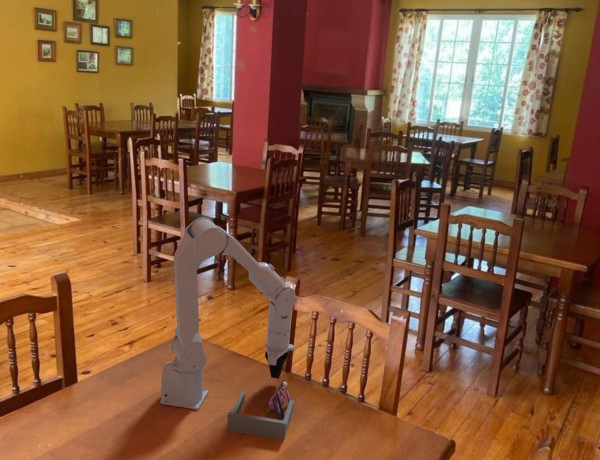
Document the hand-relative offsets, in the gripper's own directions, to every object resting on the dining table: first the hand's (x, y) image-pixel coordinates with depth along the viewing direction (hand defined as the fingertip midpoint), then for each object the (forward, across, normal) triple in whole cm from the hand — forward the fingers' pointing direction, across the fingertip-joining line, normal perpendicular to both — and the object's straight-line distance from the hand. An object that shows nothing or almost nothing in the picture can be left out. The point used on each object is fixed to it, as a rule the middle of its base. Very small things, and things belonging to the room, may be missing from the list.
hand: (275, 377), depth 147 cm
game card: (+2, -12, -3) cm, 13 cm away
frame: (+2, -16, 0) cm, 16 cm away
